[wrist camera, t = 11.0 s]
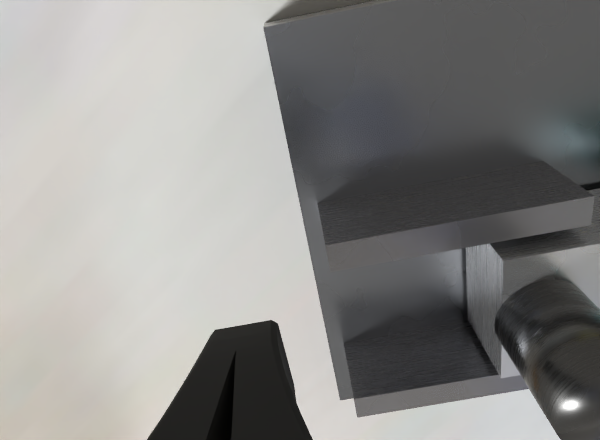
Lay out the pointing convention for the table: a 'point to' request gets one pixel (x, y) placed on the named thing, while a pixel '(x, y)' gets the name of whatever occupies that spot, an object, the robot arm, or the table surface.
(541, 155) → the press bed
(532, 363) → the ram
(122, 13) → the table surface
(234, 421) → the robot arm
